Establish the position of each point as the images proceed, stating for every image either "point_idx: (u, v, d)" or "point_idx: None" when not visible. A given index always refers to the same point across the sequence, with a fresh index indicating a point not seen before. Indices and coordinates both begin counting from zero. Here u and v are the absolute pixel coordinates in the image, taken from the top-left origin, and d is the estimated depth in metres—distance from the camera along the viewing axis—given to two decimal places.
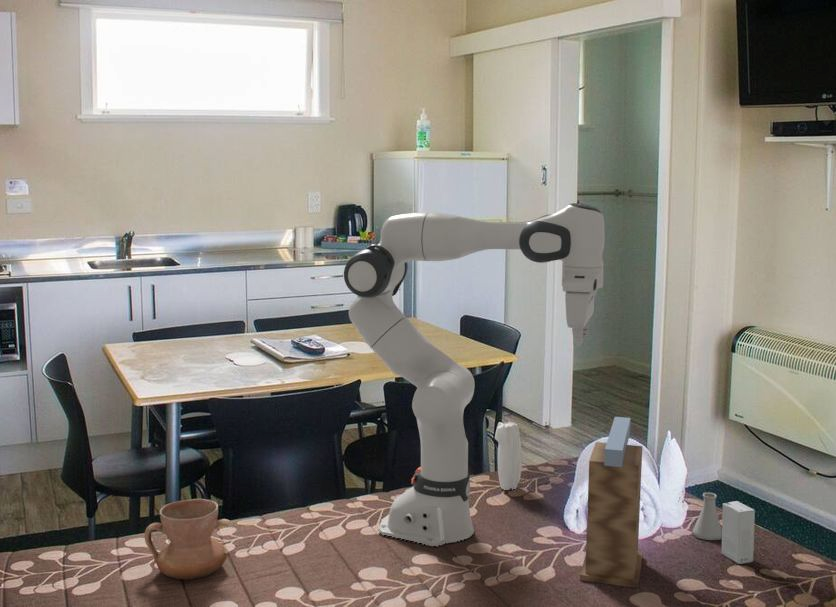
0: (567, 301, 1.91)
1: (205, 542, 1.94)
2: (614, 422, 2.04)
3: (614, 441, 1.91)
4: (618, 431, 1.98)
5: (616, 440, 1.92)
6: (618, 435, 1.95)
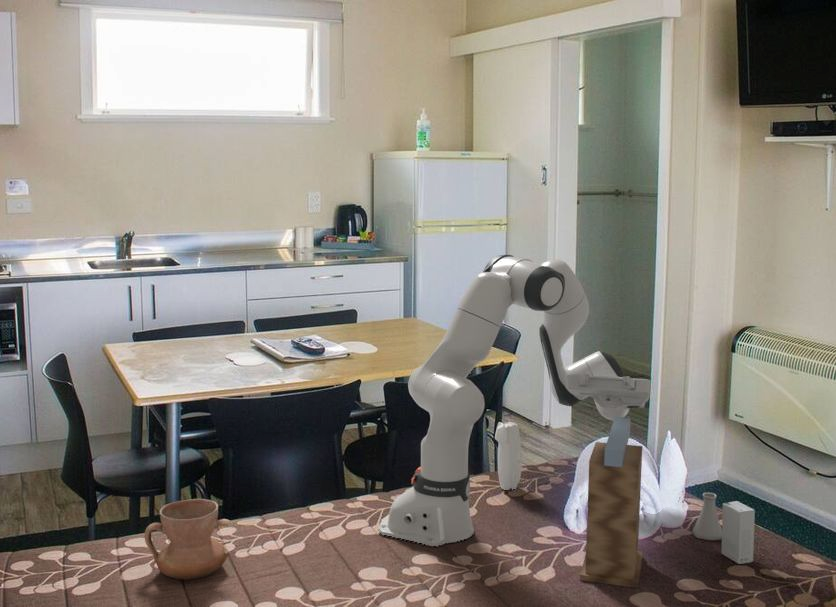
0: None
1: (205, 542, 1.94)
2: (614, 422, 2.04)
3: (614, 441, 1.91)
4: (618, 431, 1.98)
5: (616, 440, 1.92)
6: (618, 435, 1.95)
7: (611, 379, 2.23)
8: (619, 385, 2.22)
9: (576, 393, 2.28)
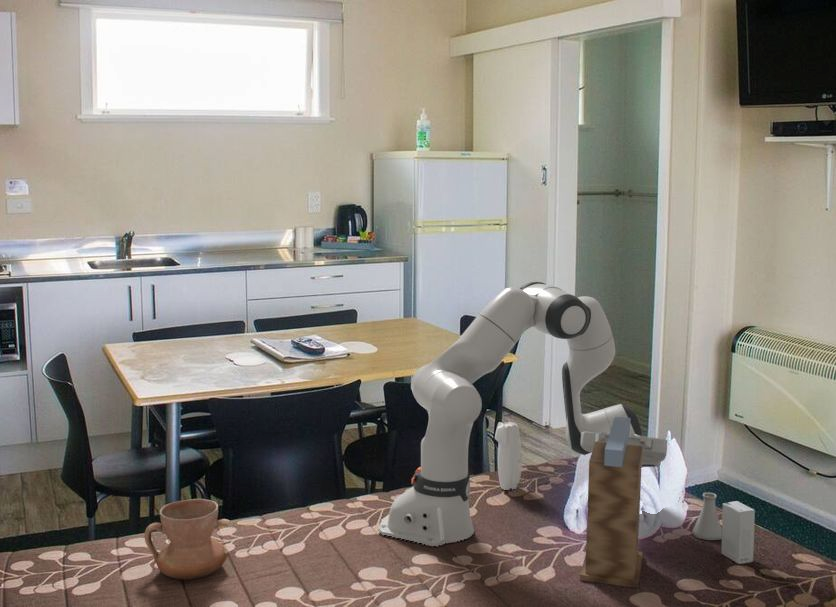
0: None
1: (205, 542, 1.94)
2: (614, 422, 2.04)
3: (614, 441, 1.91)
4: (618, 431, 1.98)
5: (616, 440, 1.92)
6: (618, 435, 1.95)
7: None
8: (635, 444, 2.17)
9: (590, 450, 2.23)
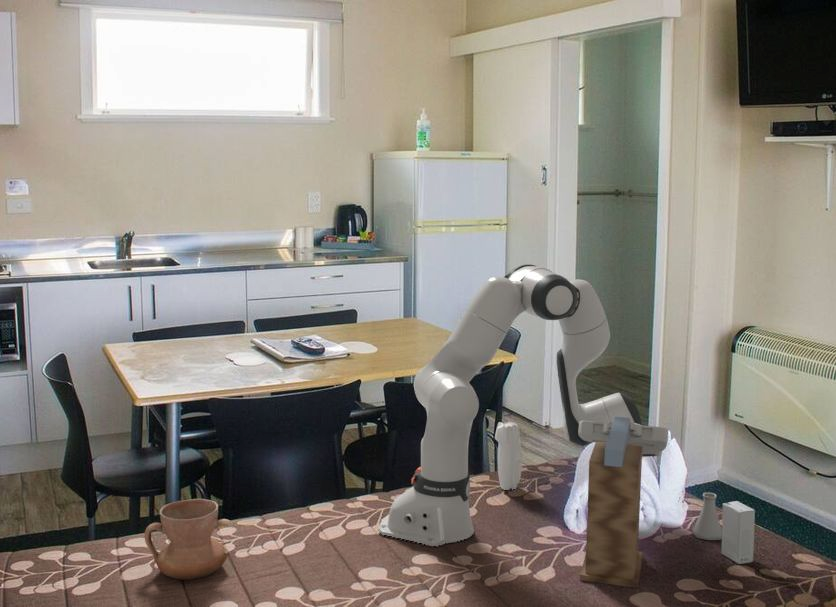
0: None
1: (205, 542, 1.94)
2: (614, 422, 2.04)
3: (614, 441, 1.91)
4: (618, 431, 1.98)
5: (616, 439, 1.92)
6: (618, 435, 1.95)
7: None
8: None
9: (589, 440, 2.16)
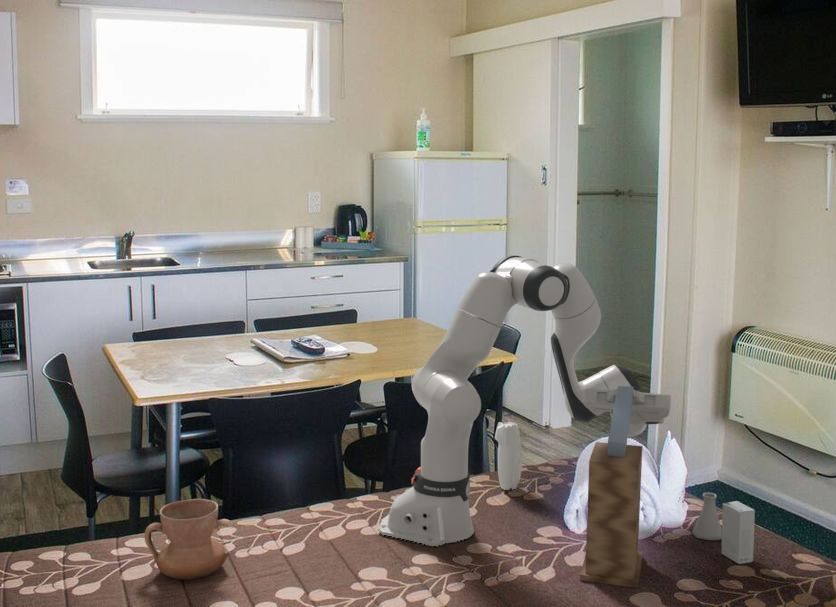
0: None
1: (205, 542, 1.94)
2: (617, 395, 2.08)
3: (617, 428, 1.96)
4: (620, 411, 2.02)
5: (619, 425, 1.97)
6: (621, 417, 1.99)
7: None
8: (638, 400, 2.14)
9: (593, 408, 2.20)
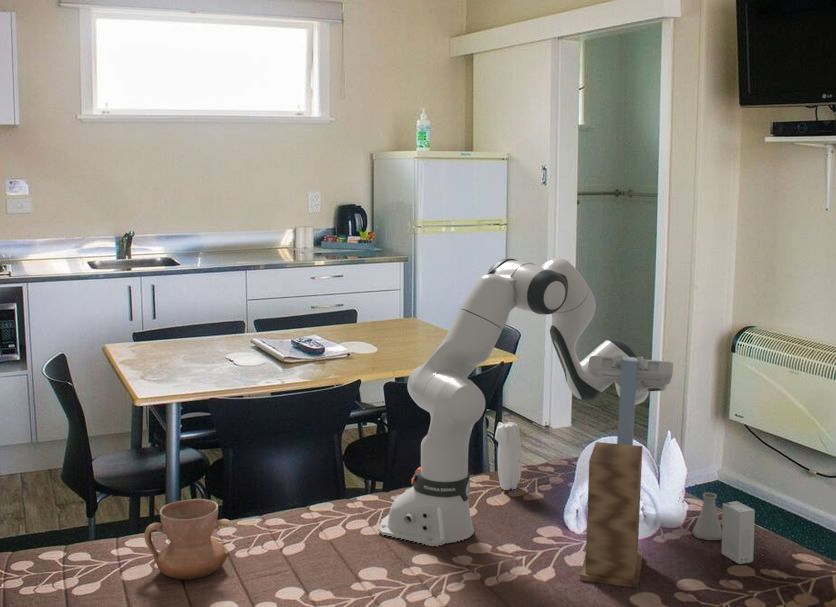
0: None
1: (205, 542, 1.94)
2: (622, 379, 2.21)
3: (623, 437, 2.22)
4: (626, 407, 2.21)
5: (625, 431, 2.22)
6: (626, 418, 2.21)
7: None
8: (641, 367, 2.23)
9: (598, 374, 2.30)
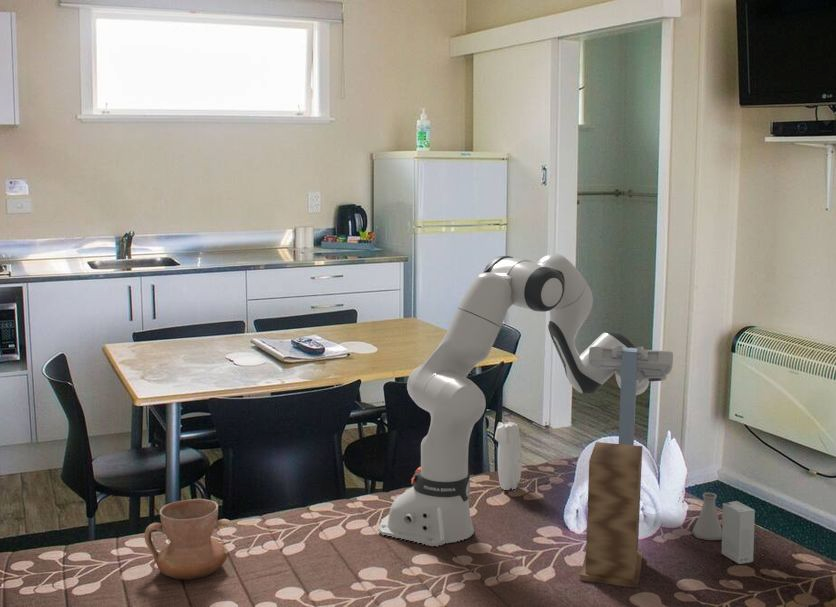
0: None
1: (205, 542, 1.94)
2: (622, 370, 2.22)
3: (625, 426, 2.24)
4: (627, 397, 2.23)
5: (627, 420, 2.24)
6: (627, 407, 2.23)
7: None
8: (641, 357, 2.24)
9: (598, 365, 2.30)
